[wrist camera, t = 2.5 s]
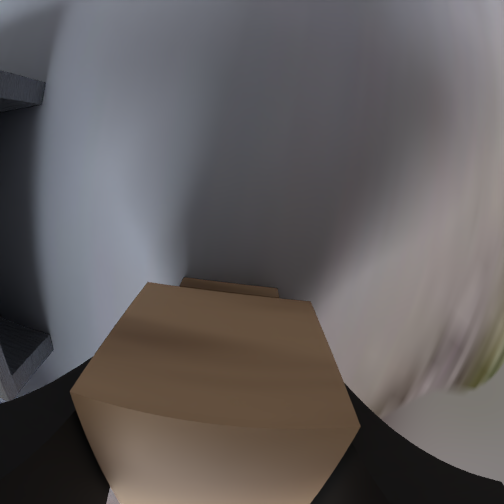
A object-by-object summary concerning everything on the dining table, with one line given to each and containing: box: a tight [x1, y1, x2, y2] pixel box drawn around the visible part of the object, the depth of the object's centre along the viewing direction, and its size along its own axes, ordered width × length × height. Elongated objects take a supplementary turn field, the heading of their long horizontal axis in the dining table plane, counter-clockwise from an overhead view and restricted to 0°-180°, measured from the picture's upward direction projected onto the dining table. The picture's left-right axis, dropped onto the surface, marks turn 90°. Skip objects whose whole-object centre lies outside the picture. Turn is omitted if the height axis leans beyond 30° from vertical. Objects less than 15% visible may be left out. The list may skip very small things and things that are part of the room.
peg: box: [70, 277, 361, 504], centre depth 8 cm, size 5×5×7 cm
